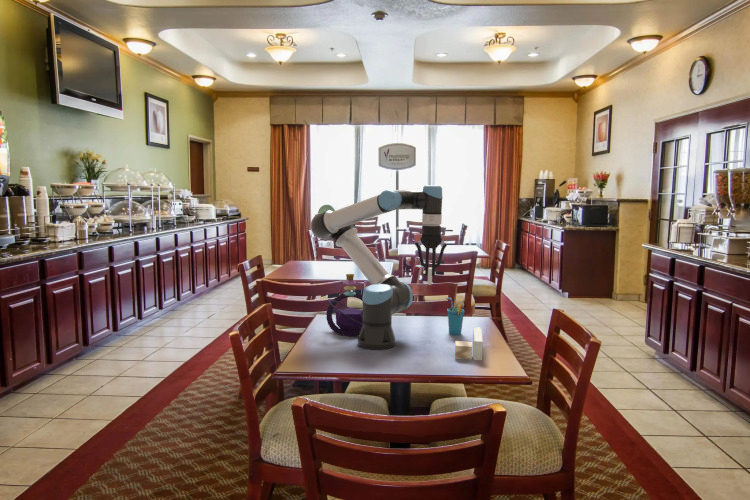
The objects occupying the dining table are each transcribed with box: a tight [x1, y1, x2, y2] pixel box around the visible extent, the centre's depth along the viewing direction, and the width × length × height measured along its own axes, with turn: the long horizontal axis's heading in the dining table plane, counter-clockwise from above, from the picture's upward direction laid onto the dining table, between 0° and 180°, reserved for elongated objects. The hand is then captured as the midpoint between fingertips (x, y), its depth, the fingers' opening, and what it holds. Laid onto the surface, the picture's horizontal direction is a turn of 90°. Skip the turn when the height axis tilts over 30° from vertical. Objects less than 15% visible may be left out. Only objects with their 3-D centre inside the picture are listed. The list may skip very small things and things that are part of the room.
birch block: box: [454, 340, 473, 360], centre depth 190 cm, size 6×6×5 cm
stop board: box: [472, 326, 484, 361], centre depth 196 cm, size 3×20×7 cm, turn 170°
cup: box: [445, 297, 466, 336], centre depth 220 cm, size 14×8×15 cm, turn 22°
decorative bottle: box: [326, 273, 363, 337], centre depth 221 cm, size 22×21×25 cm
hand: (429, 284), depth 202 cm, fingers closed
